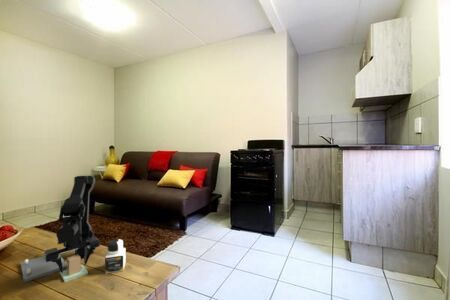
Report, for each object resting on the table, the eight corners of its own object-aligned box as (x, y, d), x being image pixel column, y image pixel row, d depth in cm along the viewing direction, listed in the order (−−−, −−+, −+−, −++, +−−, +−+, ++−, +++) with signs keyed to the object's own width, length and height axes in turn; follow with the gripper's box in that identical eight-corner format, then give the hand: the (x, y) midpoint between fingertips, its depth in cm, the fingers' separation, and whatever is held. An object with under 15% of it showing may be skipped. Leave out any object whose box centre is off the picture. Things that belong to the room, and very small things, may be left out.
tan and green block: (87, 274, 93) (87, 257, 93) (64, 282, 87) (64, 264, 87) (82, 266, 98) (82, 250, 98) (60, 274, 93) (59, 257, 92)
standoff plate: (67, 268, 97) (66, 261, 97) (24, 282, 87) (23, 274, 87) (59, 254, 109) (59, 247, 109) (20, 265, 99) (20, 258, 99)
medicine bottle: (104, 273, 93) (104, 245, 92) (108, 265, 99) (108, 238, 99) (123, 271, 95) (123, 243, 94) (125, 262, 101) (125, 236, 101)
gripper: (92, 221, 105) (93, 253, 105) (41, 232, 91) (42, 269, 92) (100, 227, 97) (100, 262, 97) (45, 240, 83) (46, 281, 84)
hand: (73, 268), depth 93 cm, fingers open, 8 cm apart
